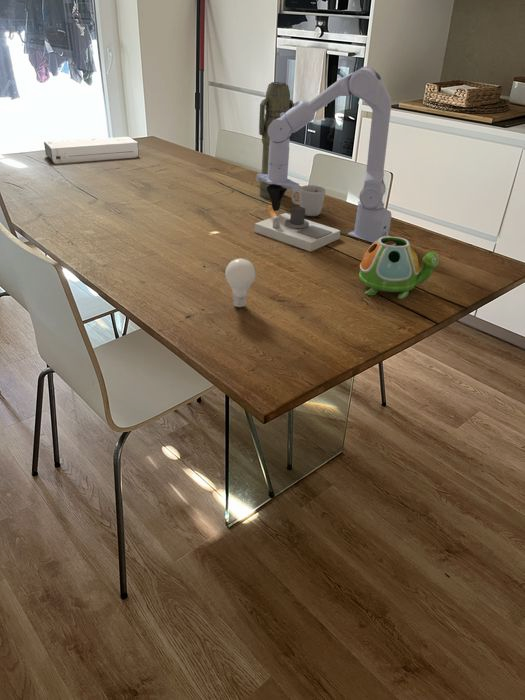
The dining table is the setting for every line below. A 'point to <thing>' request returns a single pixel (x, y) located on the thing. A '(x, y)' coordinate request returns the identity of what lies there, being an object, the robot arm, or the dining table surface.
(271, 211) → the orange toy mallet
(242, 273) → the lightbulb
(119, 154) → the laminator
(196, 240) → the dining table surface
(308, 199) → the cup
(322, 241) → the socket board
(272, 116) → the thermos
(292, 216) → the plug
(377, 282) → the turtle holder
